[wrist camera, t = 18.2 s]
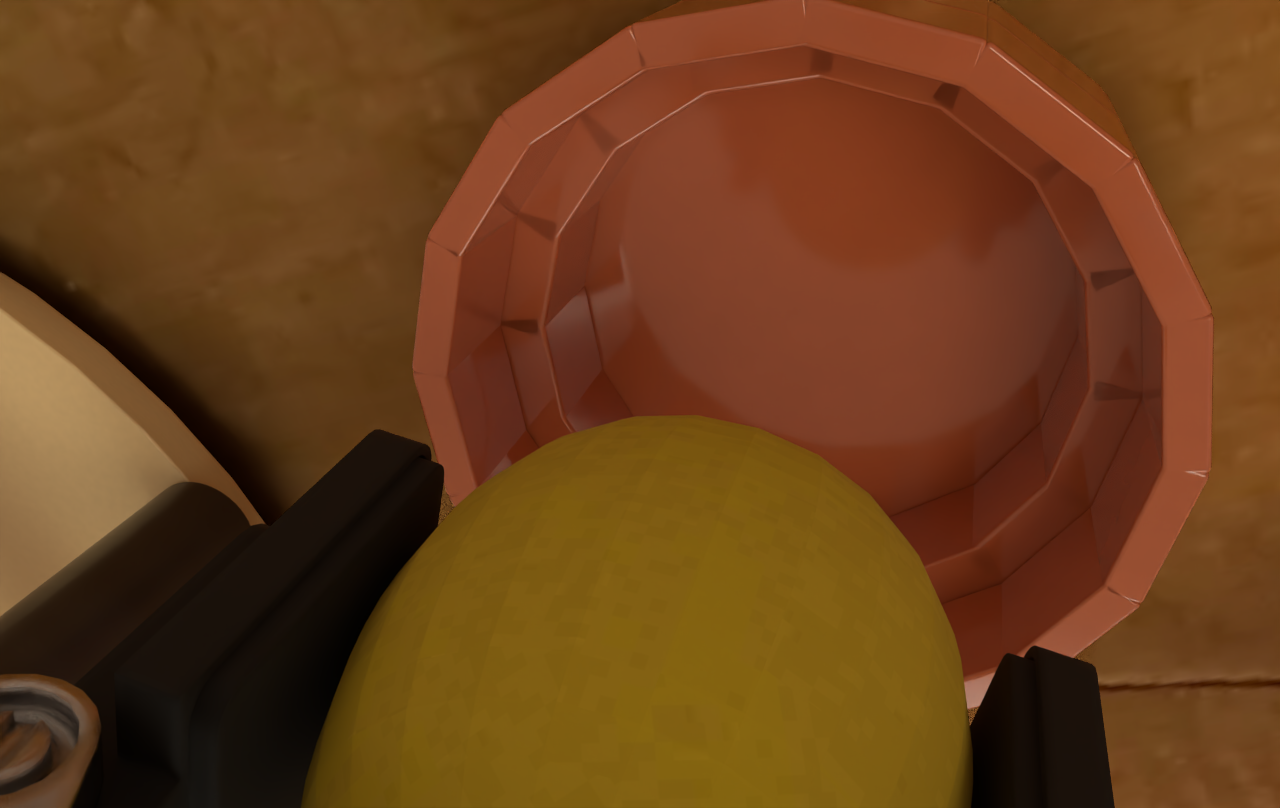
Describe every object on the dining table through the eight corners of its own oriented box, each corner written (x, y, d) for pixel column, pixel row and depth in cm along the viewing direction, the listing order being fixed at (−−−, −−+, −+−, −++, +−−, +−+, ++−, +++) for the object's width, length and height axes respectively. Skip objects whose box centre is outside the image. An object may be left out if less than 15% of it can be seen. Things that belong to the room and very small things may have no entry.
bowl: (1287, 67, 17) (1390, 140, 12) (1020, 635, 22) (1027, 824, 18) (585, -105, 18) (461, -93, 14) (495, 461, 24) (384, 596, 19)
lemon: (1011, 688, 14) (1034, 1552, 7) (596, 707, 16) (281, 1388, 9) (929, 259, 12) (844, 853, 5) (466, 343, 14) (-75, 847, 7)
